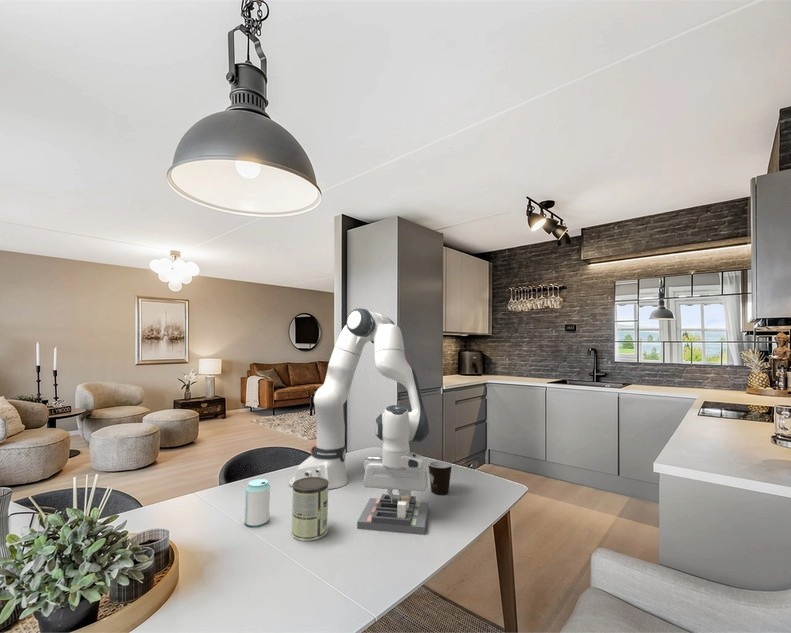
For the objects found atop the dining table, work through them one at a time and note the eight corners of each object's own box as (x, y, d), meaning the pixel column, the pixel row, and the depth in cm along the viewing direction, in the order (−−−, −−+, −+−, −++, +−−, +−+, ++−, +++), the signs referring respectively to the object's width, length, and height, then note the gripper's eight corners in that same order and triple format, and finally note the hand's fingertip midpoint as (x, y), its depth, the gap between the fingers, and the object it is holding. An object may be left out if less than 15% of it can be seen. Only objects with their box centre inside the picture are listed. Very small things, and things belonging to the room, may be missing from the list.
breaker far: (402, 504, 128) (403, 488, 129) (403, 501, 131) (403, 485, 131) (410, 504, 128) (410, 488, 128) (410, 501, 130) (411, 486, 131)
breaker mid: (400, 512, 122) (400, 496, 122) (401, 509, 124) (401, 493, 125) (408, 513, 121) (408, 496, 122) (409, 509, 124) (409, 493, 124)
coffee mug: (452, 496, 141) (452, 468, 142) (429, 496, 141) (429, 467, 142) (449, 484, 153) (449, 458, 153) (427, 484, 153) (427, 458, 153)
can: (262, 514, 124) (263, 476, 125) (272, 522, 119) (274, 482, 120) (240, 521, 119) (242, 481, 120) (250, 530, 114) (252, 488, 115)
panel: (357, 528, 116) (357, 516, 116) (370, 503, 134) (370, 493, 134) (424, 534, 113) (424, 521, 113) (428, 508, 131) (428, 497, 131)
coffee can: (292, 525, 117) (294, 477, 118) (327, 523, 119) (328, 475, 120) (289, 542, 107) (291, 490, 108) (327, 540, 109) (328, 488, 110)
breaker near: (397, 521, 115) (397, 504, 116) (398, 518, 118) (398, 501, 118) (405, 522, 115) (405, 505, 115) (406, 518, 117) (406, 501, 118)
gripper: (361, 459, 123) (360, 504, 122) (426, 463, 120) (426, 509, 119) (366, 453, 129) (365, 496, 128) (428, 457, 126) (427, 501, 125)
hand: (395, 502), depth 123 cm, fingers closed
